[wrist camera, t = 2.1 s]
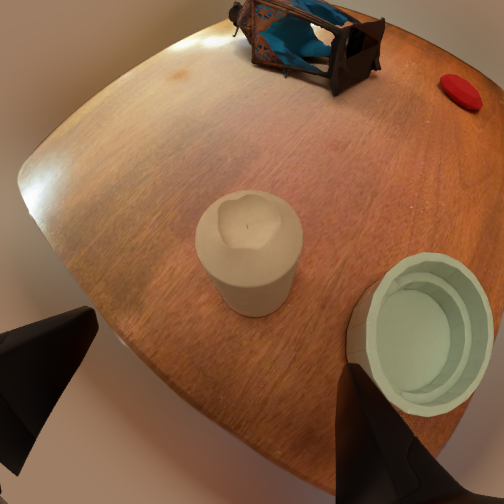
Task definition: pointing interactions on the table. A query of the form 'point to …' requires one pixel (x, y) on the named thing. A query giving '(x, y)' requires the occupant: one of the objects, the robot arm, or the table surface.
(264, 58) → the lantern
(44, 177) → the table surface
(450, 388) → the bowl
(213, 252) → the candle
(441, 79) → the gemstone
